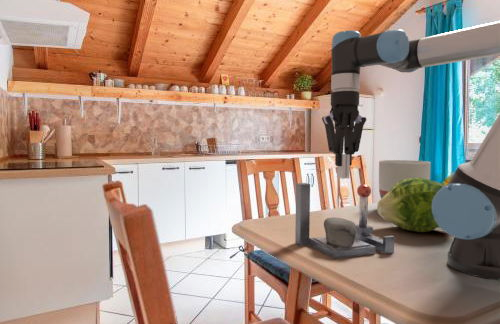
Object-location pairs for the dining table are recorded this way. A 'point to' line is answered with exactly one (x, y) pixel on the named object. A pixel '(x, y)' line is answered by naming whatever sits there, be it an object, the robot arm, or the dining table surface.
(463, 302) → the dining table surface
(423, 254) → the dining table surface
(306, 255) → the dining table surface
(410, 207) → the lettuce
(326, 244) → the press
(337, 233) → the stone
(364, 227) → the lever
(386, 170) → the planter
